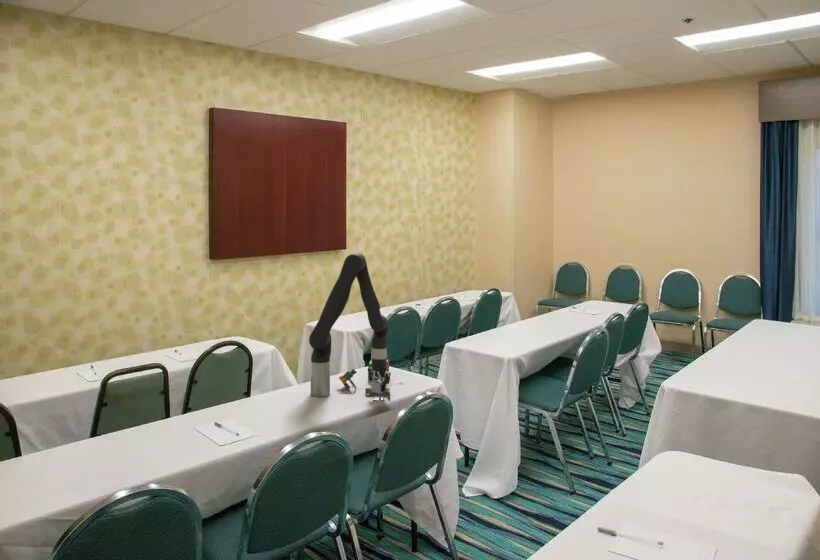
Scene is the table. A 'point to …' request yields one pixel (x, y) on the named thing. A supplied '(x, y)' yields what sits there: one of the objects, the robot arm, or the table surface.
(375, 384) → the slate-blue block
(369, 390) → the walnut corner walls
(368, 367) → the puzzle cube
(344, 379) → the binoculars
